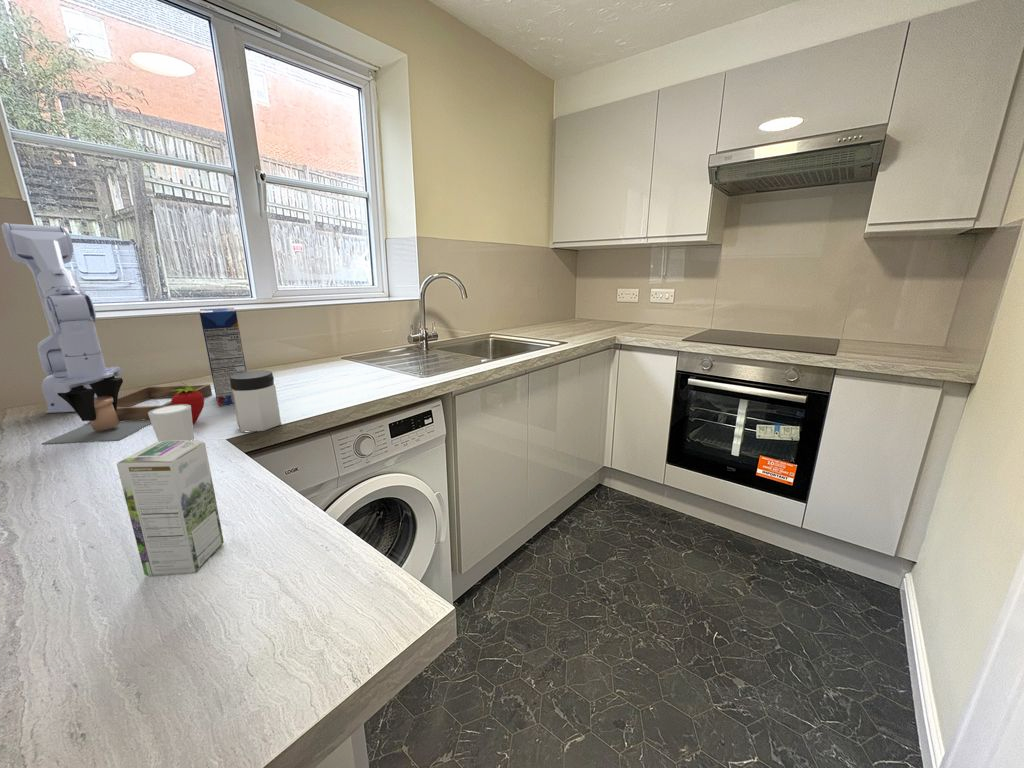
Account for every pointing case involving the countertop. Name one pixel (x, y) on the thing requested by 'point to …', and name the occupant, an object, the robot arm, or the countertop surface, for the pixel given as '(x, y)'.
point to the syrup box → (172, 506)
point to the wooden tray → (145, 393)
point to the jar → (255, 400)
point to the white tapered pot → (172, 422)
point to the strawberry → (189, 400)
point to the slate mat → (100, 433)
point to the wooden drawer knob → (104, 414)
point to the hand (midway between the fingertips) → (100, 415)
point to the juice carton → (223, 349)
